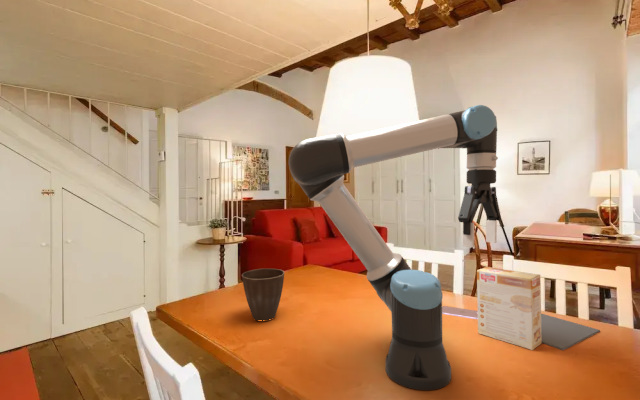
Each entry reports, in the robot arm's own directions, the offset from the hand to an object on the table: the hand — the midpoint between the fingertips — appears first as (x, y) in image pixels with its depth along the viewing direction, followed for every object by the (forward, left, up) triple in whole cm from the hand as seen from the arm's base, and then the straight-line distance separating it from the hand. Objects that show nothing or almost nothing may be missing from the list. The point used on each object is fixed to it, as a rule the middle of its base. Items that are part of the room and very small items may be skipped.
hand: (480, 244), depth 93 cm
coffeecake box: (+9, -2, -28) cm, 30 cm away
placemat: (+24, -3, -28) cm, 37 cm away
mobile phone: (+15, +18, -29) cm, 37 cm away
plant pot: (-46, +53, -28) cm, 75 cm away
